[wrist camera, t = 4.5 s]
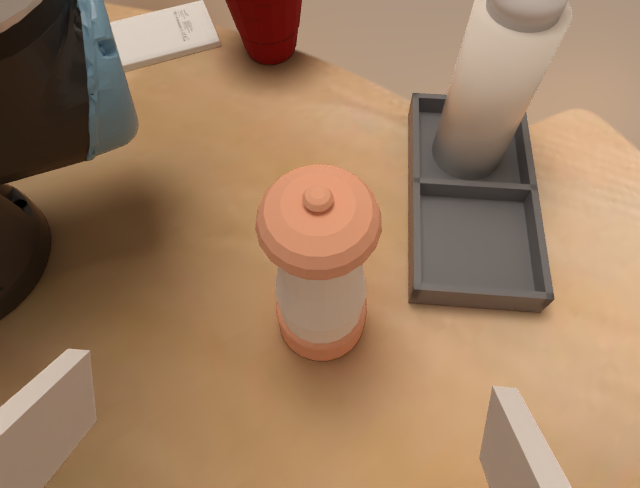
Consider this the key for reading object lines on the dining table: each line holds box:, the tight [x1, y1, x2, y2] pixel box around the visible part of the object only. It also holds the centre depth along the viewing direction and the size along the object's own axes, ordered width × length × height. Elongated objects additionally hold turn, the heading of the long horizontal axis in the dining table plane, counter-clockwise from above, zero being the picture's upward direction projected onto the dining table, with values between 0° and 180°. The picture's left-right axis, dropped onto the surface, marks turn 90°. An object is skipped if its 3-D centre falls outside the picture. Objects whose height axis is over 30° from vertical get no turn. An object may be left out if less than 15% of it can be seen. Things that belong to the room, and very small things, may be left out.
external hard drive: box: [110, 0, 221, 72], centre depth 58 cm, size 2×8×12 cm
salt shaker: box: [432, 0, 572, 180], centre depth 41 cm, size 7×7×18 cm
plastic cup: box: [226, 0, 302, 65], centre depth 52 cm, size 11×11×12 cm
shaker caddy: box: [408, 93, 554, 312], centre depth 46 cm, size 11×22×3 cm, turn 175°
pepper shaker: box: [255, 165, 382, 361], centre depth 33 cm, size 7×7×19 cm
